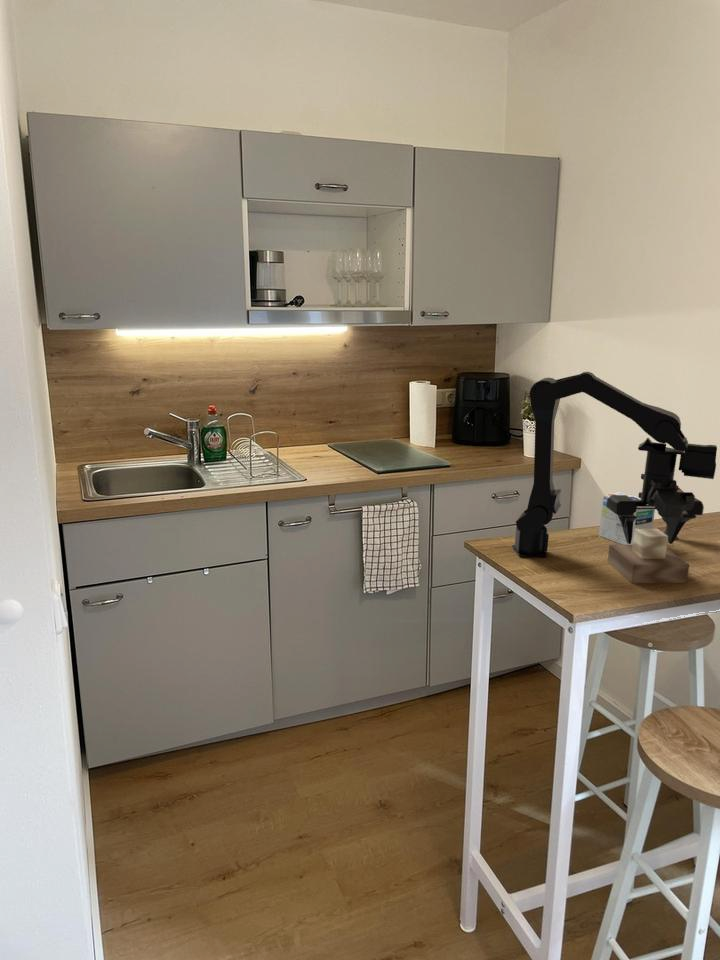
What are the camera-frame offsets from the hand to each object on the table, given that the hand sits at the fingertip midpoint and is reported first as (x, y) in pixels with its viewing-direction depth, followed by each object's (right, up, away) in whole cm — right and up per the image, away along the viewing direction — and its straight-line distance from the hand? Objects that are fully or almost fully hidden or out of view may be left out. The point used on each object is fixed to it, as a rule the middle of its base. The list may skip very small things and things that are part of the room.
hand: (649, 543), depth 155 cm
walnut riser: (0, -6, +2) cm, 6 cm away
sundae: (+14, -1, +24) cm, 28 cm away
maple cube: (0, -2, +1) cm, 3 cm away
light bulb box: (+2, -1, +21) cm, 22 cm away
